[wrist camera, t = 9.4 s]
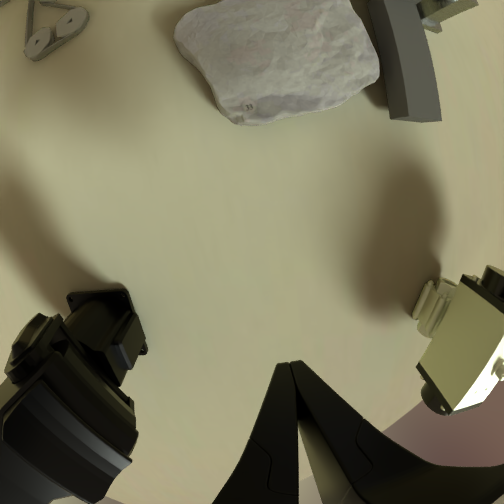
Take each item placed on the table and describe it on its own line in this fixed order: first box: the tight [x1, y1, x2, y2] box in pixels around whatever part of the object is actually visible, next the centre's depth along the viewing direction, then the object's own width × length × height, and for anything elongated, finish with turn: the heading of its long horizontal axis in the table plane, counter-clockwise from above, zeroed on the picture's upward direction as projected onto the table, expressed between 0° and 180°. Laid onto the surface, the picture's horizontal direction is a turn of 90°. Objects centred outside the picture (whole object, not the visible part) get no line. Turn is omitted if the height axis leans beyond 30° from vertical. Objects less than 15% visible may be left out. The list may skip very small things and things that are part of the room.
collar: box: [367, 0, 442, 123], centre depth 11 cm, size 3×14×5 cm, turn 6°
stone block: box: [173, 0, 380, 126], centre depth 14 cm, size 12×5×10 cm
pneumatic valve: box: [412, 265, 504, 416], centre depth 17 cm, size 6×12×12 cm, turn 168°
